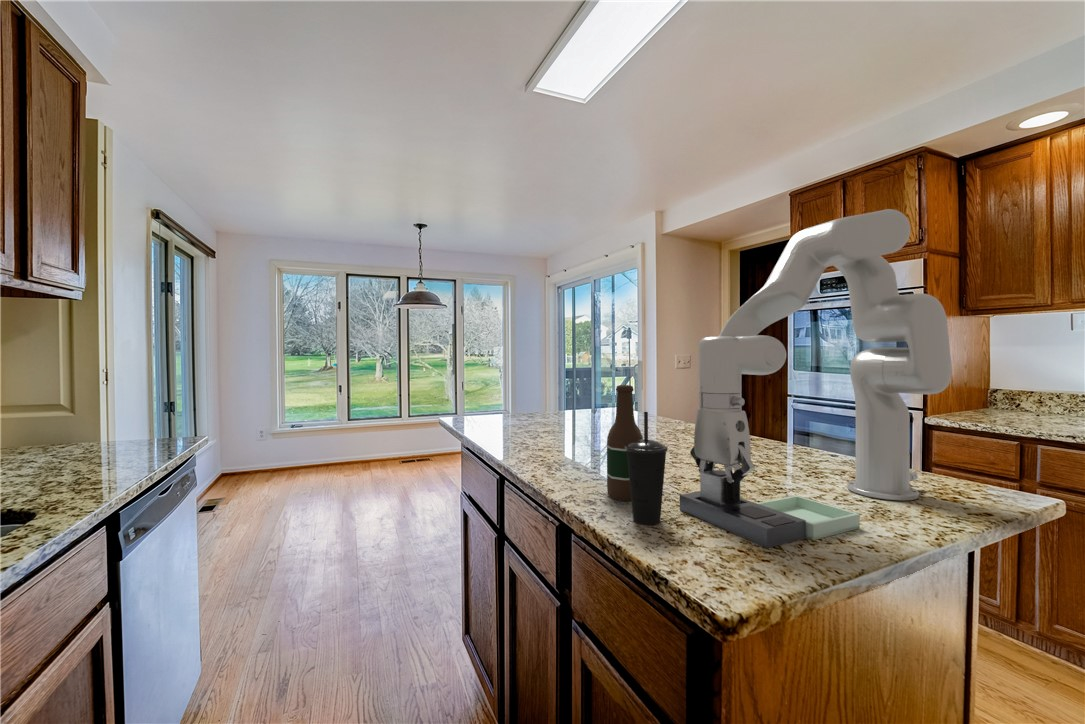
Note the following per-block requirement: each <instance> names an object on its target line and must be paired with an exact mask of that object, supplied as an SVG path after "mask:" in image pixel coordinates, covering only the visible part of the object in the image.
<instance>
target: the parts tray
mask: <svg viewBox="0 0 1085 724" xmlns="http://www.w3.org/2000/svg"><path fill="white" fill-rule="evenodd" d="M756 503H757V504H760V505H763V506H766V507H768V508H771V509H774V510H777V511H780V512H783V513H786V514H789V515H792V516H795V517H798V518H801V519H804V520H806V538H807V539H810V540H812V541H816V540H819V539H823V538H827V537H832V536H834V535H840V534H842V533H847V532H850V531H855V530H858V529H861V527H860V524H861V523H860V521H861V518H860V517H861V515H860V513H858V512H854V511H851V510H847V509H844V508H841V507H836V506H834V505H829V504H827V503H824V502H820V501H817V500H813V499H809V498H808V497H807V498H806V497H803V496H800V495H796V494H795V495H792V496H786V497H781V498H776V499H775V498H774V499H770V500H765V501H760V502H756Z"/></svg>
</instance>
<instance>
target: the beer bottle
mask: <svg viewBox="0 0 1085 724" xmlns="http://www.w3.org/2000/svg"><path fill="white" fill-rule="evenodd" d="M634 390H635V389H634V387H633V385H631V384H620V385H617V386H616V389H615V391H616V393H617V394H616V408H615V419H614V423H613V424H612V426H611V427H610V429H609V431H608V434H607V441H606V486H607V487H606V489H607V491H606V492H607V495H608V497H610V498H611V499H612V500H615V501H620V502H632V501H631V491H630V480H629V470H628V459H627V450H626V449H625V445H627V444H630V443H632V442H634V441H637V440H643V439H644V436H643V434H642V432H641V429H640V428H639V426H638V425H637V424H636V420H635V416H634V415H635V413H634V397H633V392H634Z"/></svg>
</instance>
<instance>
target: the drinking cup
mask: <svg viewBox="0 0 1085 724" xmlns="http://www.w3.org/2000/svg"><path fill="white" fill-rule="evenodd" d="M643 430H644V431H643V440H637V441H634V442H632V443H630V444H627V445H625V449H626V450H627V459H628V470H629V480H630V491H631V501H630V502H631V510H632V519H633V522H634V523H636V524H639V525H643V526H655V525H658V524H660V523H661V518H662V517H661V515H662V514H661V513H662V505H663V491H664V479H665V468H666V467H665V466H666V456H667V452H668V449H669V448H668V447H667V445H665V444H662V443H661V442H659V441H656V440H653V439H649V412H648V411H644V412H643Z"/></svg>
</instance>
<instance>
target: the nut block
mask: <svg viewBox="0 0 1085 724" xmlns="http://www.w3.org/2000/svg"><path fill="white" fill-rule="evenodd" d="M699 478H700V479H699V483H700V484H699V485H700V486H699V488H700V490H699V491H700V501H703V502H706V503H708V504H711V505H713V506H716V507H718V508H721V507H727V506H732V505H737V504H741V498H742V497H741V495H742V493H741V492H742V491H741V483H742V481H740V502H738V503H733V504H726V503H725V482H727V477H726V473H725V469H724V470H723V469H714V470H712V471H705V472H700V473H699Z"/></svg>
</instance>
